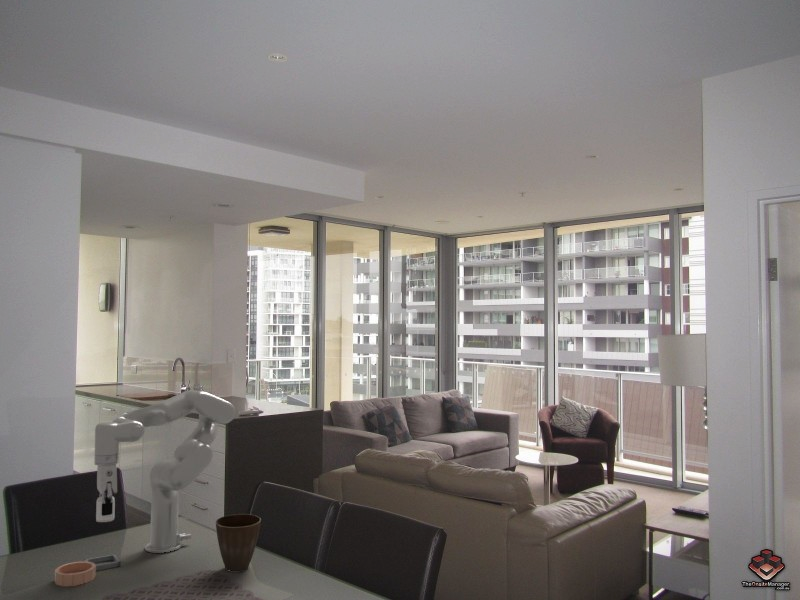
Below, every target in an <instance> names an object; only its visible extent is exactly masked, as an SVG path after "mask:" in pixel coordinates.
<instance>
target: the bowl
mask: <svg viewBox="0 0 800 600" xmlns="http://www.w3.org/2000/svg"><path fill="white" fill-rule="evenodd" d="M84 561H85V560H84ZM84 561H74V562H69V563H65V564H62V565H60V566H58V567H57V568H56V569H54V584H55V585H56V586H59V585H60V586H59V587H76V586H81V585H84V583H85V584H88V583H90V582H92V581H93V580H94V579H95V578H96V573H97V571H96V565H97V564H96V563H92V562H87V561H85V562H84ZM80 584H81V585H80Z"/></svg>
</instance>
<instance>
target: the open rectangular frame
mask: <svg viewBox="0 0 800 600" xmlns="http://www.w3.org/2000/svg"><path fill="white" fill-rule="evenodd" d="M107 560H108V561H112V562H107V563H101V562H102V561H103V562H106V561H107ZM85 561H87V562H92V563H95V565H96V572H97V571H101V570H106V569H107V570H108V569H111V568H118V567H121V561H120V559H119V557H117V555H116V554H115V553H114V554H109V555H104V556H97V557H91V558H86V559H84V561H83V562H85ZM96 563H101V564H96ZM117 566H118V567H117Z"/></svg>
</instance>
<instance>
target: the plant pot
mask: <svg viewBox="0 0 800 600" xmlns="http://www.w3.org/2000/svg"><path fill="white" fill-rule="evenodd" d="M261 522H262V518H261V517H260V516H258V515H255V514H252V513H251V514H250V513H238V514H237V513H236V514H234V513H233V514H230V515H224V516H222V517H219V518H217V519H216V521H215V529H216V536H217V538H216V539H217V541H218V548H219V552H220V555H221V560H222V563H223V565H224V568H225V570H226V569H227V570H230V571H240V572H242V571H241V570H244V571H246V570H247V569H249V567H250V564H251V561H252V559H253V555H254V553H255V549H256V545H257V542H258V538H259V534H260V528H261ZM245 569H246V570H245ZM227 570H226V571H227ZM230 571H229V572H230Z"/></svg>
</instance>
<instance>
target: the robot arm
mask: <svg viewBox="0 0 800 600" xmlns="http://www.w3.org/2000/svg"><path fill="white" fill-rule="evenodd" d="M189 414H198V423H197V425H196V428H194V430H193V431H192V432H191V433H190V434H189V435H188V436H187V437H186V438H185V439H184V440H183V441H181V443H179V444H178V446H176V448H175V449H174V452H173V458H174V461H173V460H169V459H163V460H159V461H157V462H156V463H154V464H153V465H152V467H151V469H150V471H149V482H150V483H149V484H150V489H151V490H150V492H151V503H150V504H151V507H150V527H149V529H150V530H149V531H150V532H149V533H150V534H149V535H150V536H149V537H150V538H149V542H148V543H147V544H145V545H144V547H145V548H144V549H145V551H146V552H149V553H153V554H163V553H164V552H166V553H170V551H171V552H174V550H175V551H177V550H179V549H180V548H181V547H182V545H183V543H182V542H183V541H185V540H191V539H192V538H191V537H192V534H191V533H185V532H183V533H180V532H179V531H178V530H179V509H180V508H179V506H180V505H179V504H180V495H179V492H180V491H184V490H185V489H187V488H189V486H191V485H192V484H193V483H194V482H195V481H196V480H197V479H198V478H199V477H200V476H201V475H202V473H203V472H204V471H206V470H207V468H208V467H209V466H210V464H211V463H212V461H213V457H214V456H213V455H214V452H213V448H212V446H211V445H212V444H213V443H214V441H215V440H216V438H217V435H218V434H217V433H218V424H223V425H225V424H228V423H230V422H232V421H233V420H234V418H235V416H236V408H235V406H234V405H233V404H232V403H231V402H230V401H227V400H225V399H223V398H221V397H219V396H216V395H214V394H211V393H209V392H207V391H203V390H195V389H189V390H185V391H182V392H181V393H178V394H177V395H174V396H172V397H170V398H167V399H165V400H163V401H160V402H158V403H156V404H152V405H148V406H145V407H142V408H141V407H140V408H138V409H135V410H131V411H130V412H127V413H125V414H123V415H120V416H118V417H116V418H115V419H114V420H112V421H105V422H100V423H97V424H96V425H95V428H94V430H95V431H94V465H95V466H97V468H96V469H97V471H96V488H97V491H98V492H99V497H101V496H102V495H103V503H102V516H105V515H111V514H112V496H113V493H114V494H117V493H118V470H117V464H119V463H120V462H119V458H120V456H119V455H120V452H119V451H120V443H135V442H138V441H140V440H141V439H142V438H143V437H144V435H145V432H146V430H145V428H149V427H161V426H166V425H169V424H171V423H173V422H175V421H177V420H180V419H181V418H183V417H186V416H188V415H189ZM105 492H107V494H105ZM105 496H107V497H106V498H105ZM99 497H98V498H99Z"/></svg>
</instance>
